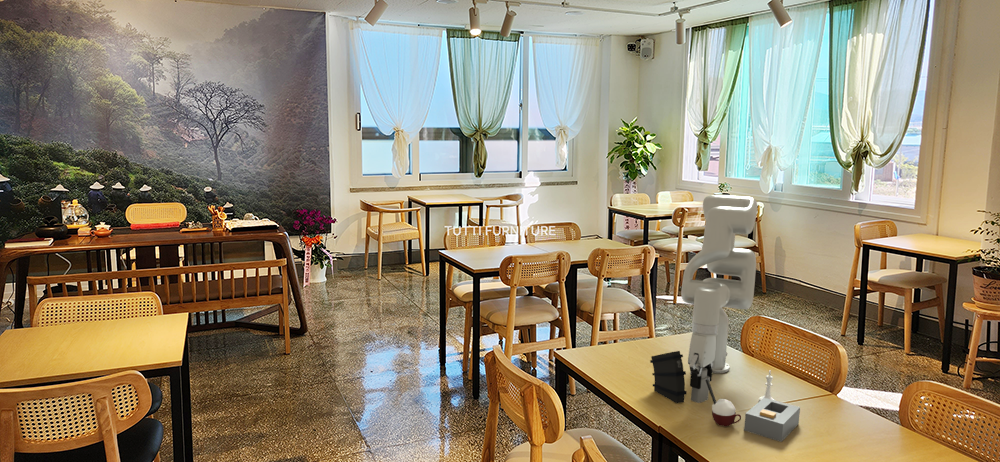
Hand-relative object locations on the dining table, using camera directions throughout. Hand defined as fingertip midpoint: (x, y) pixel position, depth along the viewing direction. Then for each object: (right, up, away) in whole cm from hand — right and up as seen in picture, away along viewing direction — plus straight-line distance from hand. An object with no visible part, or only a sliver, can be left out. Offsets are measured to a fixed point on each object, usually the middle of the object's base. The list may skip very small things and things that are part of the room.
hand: (700, 383), depth 204 cm
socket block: (+15, -8, -17) cm, 24 cm away
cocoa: (+1, -8, -16) cm, 17 cm away
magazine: (-10, -5, +3) cm, 11 cm away
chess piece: (+20, -6, +1) cm, 21 cm away
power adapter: (0, -5, +1) cm, 5 cm away
